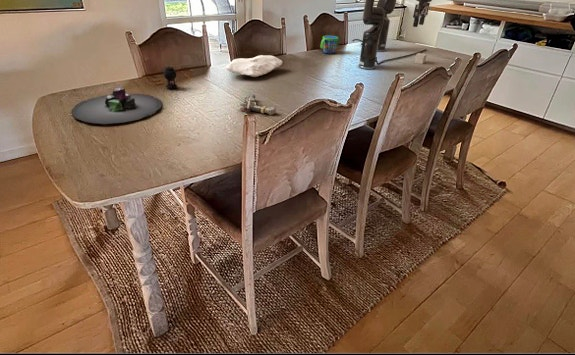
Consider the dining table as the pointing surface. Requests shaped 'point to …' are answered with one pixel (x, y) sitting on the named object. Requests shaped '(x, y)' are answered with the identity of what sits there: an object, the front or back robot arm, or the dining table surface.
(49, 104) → the dining table surface
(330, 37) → the snack cup
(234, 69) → the crumpled cloth
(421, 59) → the block
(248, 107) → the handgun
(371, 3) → the front robot arm
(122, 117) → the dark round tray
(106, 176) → the dining table surface
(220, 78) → the dining table surface
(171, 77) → the gumball machine
